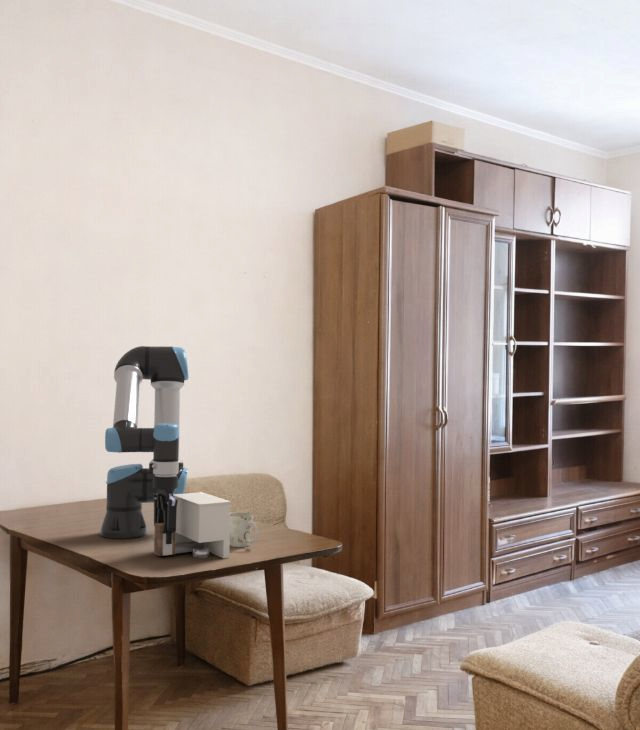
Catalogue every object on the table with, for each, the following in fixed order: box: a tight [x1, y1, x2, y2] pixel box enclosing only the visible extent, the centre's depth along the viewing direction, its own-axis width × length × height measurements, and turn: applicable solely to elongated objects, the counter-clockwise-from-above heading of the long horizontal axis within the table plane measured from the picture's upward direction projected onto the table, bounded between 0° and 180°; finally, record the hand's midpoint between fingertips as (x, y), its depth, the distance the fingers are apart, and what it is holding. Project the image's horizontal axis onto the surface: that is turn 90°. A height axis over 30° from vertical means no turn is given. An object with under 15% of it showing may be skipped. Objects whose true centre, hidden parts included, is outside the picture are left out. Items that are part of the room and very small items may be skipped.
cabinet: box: [173, 491, 232, 559], centre depth 241 cm, size 20×10×17 cm, turn 34°
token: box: [192, 547, 210, 559], centre depth 237 cm, size 5×5×2 cm
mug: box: [230, 511, 259, 548], centre depth 251 cm, size 8×13×10 cm, turn 51°
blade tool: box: [153, 523, 204, 557], centre depth 239 cm, size 4×15×9 cm, turn 123°
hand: (164, 552), depth 236 cm, fingers closed on blade tool, 4 cm apart
